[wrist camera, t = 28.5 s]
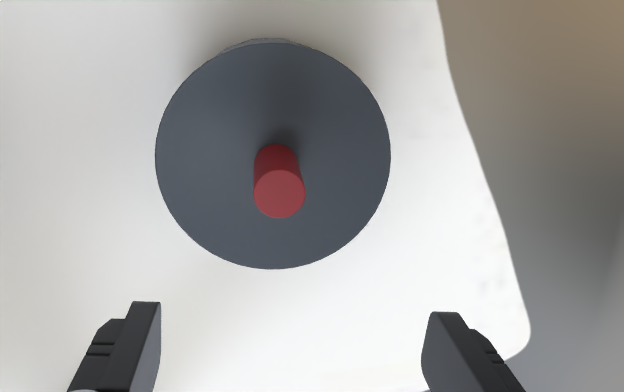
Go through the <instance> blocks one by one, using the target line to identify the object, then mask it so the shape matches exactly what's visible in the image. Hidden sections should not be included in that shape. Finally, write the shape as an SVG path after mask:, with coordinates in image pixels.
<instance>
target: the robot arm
mask: <svg viewBox="0 0 624 392" xmlns="http://www.w3.org/2000/svg"><path fill="white" fill-rule="evenodd" d="M160 355H161V304H160V302H141V301H133V302H132V304H131V306H130V309H129V311H128V313H127V316H126V318H125V319H110V320H109V321H108V322H107V323H105V324H104V325H103V326H102V327H100V328H99V329H98V330H97V332H96V334H95V336H94V338H93V340H92V342H91V345H90V346H89V348H88V350H87V352H86V356H84V358H83V360H82V362H81V364H80V366H79V368H78V370H77V372H76V374H75V376H74V378H73V380H72V382H71V384H70V386H69V388H68V390H67V392H152V391H153V388H154V384H155V380H156V377H157V373H158V369H159V364H160ZM421 367H422V372H423V375H424V378H425V380H426V382H427V384H428V386H429V388H430V390H431V392H526V391H525V390H524V389H523V387H522V386H521V384H520V383H519V382H518V380H517V379H516V377H515V376H514V375H513V373H512V372H511V370H510V369H509V368H508V366H507V365H506V364H504V361H503V359H502V358H501V356H500V355H499V354H497V351H496V349H495V348H494V347H493V345H492V344H491V342H490V341H489V340H488V339H487V338H486V337H484V336H483V335H482V334H480V333H479V332H478V331H476V330H475V329H469V328H468V326H467V325H466V323H465V322H464V320H463V319H462V317H461V316H460V315H459V313H457V312H432V313H431V315H430V317H429V321H428V326H427V330H426V335H425V340H424V345H423V349H422V354H421Z"/></svg>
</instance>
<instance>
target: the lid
mask: <svg viewBox="0 0 624 392" xmlns="http://www.w3.org/2000/svg"><path fill="white" fill-rule="evenodd" d="M390 162H391V151H390V140H389V134H388V129H387V126H386V123H385V119H384V116H383V114H382V112H381V110H380V107H379V105H378V103H377V101H376V100H375V98H374V97H373V95H372V94H371V92H370V91H369V89H368V88H367V87H366V86H365V84H364V83H363V82H362V81H361V80H360V79H359V77H357V76H356V75H355V74H354V73H353V72H352V71H351V70H349V69H348V68H347V67H346V66H344V65H343V64H341V63H340V62H338V61H337V60H335V59H334V58H332V57H330V56H328V55H326V54H324V53H322V52H320V51H318V50H314V49H311V48H308V47H305V46H302V45H296V44H291V43H281V42H265V43H255V44H250V45H245V46H241V47H237V48H234V49H232V50H229V51H227V52H224V53H222V54H220V55H218V56H216V57H214V58H213V59H211V60H209V61H207V62H206V63H205V64H203V65H202V66H201V67H199V68H198V69H197V70H195V71H194V72H193V73H192V74H191V75H190V76H189V77H188V78H187V79H186V80H185V81H184V82H183V83H182V84H181V86H180V87H179V88H178V90H177V91H176V92H175V94H174V95H173V96H172V98H171V100H170V102H169V104H168V106H167V107H166V109H165V111H164V114H163V117H162V119H161V122H160V125H159V129H158V133H157V138H156V147H155V166H156V174H157V179H158V184H159V188H160V190H161V193H162V196H163V199H164V201H165V203H166V205H167V207H168V209H169V211H170V213H171V214H172V216H173V217H174V219H175V220H176V221H177V223H178V224H179V226H180V227H181V228H182V229H183V230H184V231H185V232H186V233H187V234H188V236H189V237H191V238H192V239H193V240H194V241H195V242H196V243H198V244H199V245H200V246H202V247H203V248H205V249H206V250H208V251H209V252H211V253H212V254H214V255H216V256H218V257H220V258H222V259H224V260H227V261H230V262H232V263H235V264H238V265H242V266H247V267H251V268H259V269H286V268H294V267H298V266H302V265H306V264H310V263H313V262H315V261H318V260H321V259H323V258H325V257H327V256H329V255H331V254H333V253H334V252H336V251H337V250H339V249H340V248H342V247H343V246H345V245H346V244H347V243H349V242H350V241H351V240H352V239H353V238H354V237H355V236H357V235H358V233H359V232H360V231H361V230H362V229H363V228H364V227H365V226H366V225H367V223H368V222H369V220H370V219H371V217H372V216H373V215H374V213H375V211H376V209H377V207H378V206H379V204H380V202H381V199H382V197H383V194H384V192H385V189H386V185H387V181H388V177H389V172H390Z"/></svg>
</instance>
